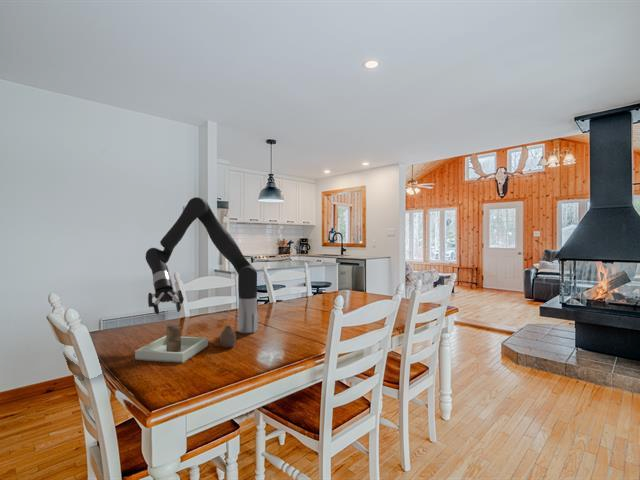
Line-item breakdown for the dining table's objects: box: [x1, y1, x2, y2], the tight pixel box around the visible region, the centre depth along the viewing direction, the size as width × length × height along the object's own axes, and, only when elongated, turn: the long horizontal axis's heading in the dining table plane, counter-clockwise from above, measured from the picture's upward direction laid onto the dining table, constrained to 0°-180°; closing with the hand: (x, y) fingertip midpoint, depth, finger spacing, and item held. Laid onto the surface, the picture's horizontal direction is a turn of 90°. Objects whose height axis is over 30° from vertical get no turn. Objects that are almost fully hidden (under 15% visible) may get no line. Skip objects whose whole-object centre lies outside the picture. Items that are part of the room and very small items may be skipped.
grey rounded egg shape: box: [219, 325, 237, 349], centre depth 146 cm, size 7×7×9 cm
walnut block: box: [166, 324, 182, 352], centre depth 138 cm, size 5×5×10 cm
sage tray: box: [134, 335, 209, 364], centre depth 138 cm, size 20×20×4 cm
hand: (168, 312), depth 145 cm, fingers open, 8 cm apart
